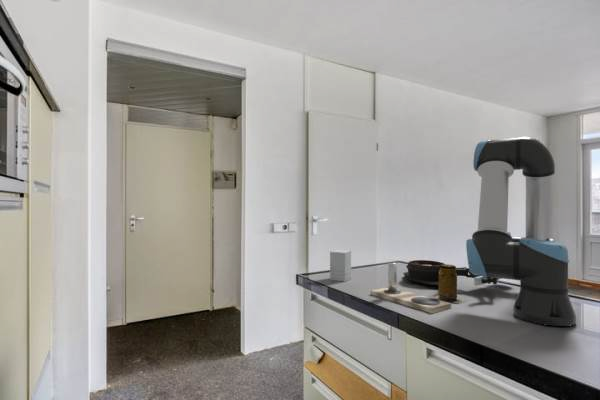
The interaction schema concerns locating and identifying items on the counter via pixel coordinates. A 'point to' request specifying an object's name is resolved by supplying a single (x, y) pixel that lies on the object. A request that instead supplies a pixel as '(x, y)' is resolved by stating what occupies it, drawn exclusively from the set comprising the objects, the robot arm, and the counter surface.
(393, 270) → the steel post
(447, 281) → the condiment
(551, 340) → the counter surface
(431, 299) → the board
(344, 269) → the supplement box
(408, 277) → the casserole
